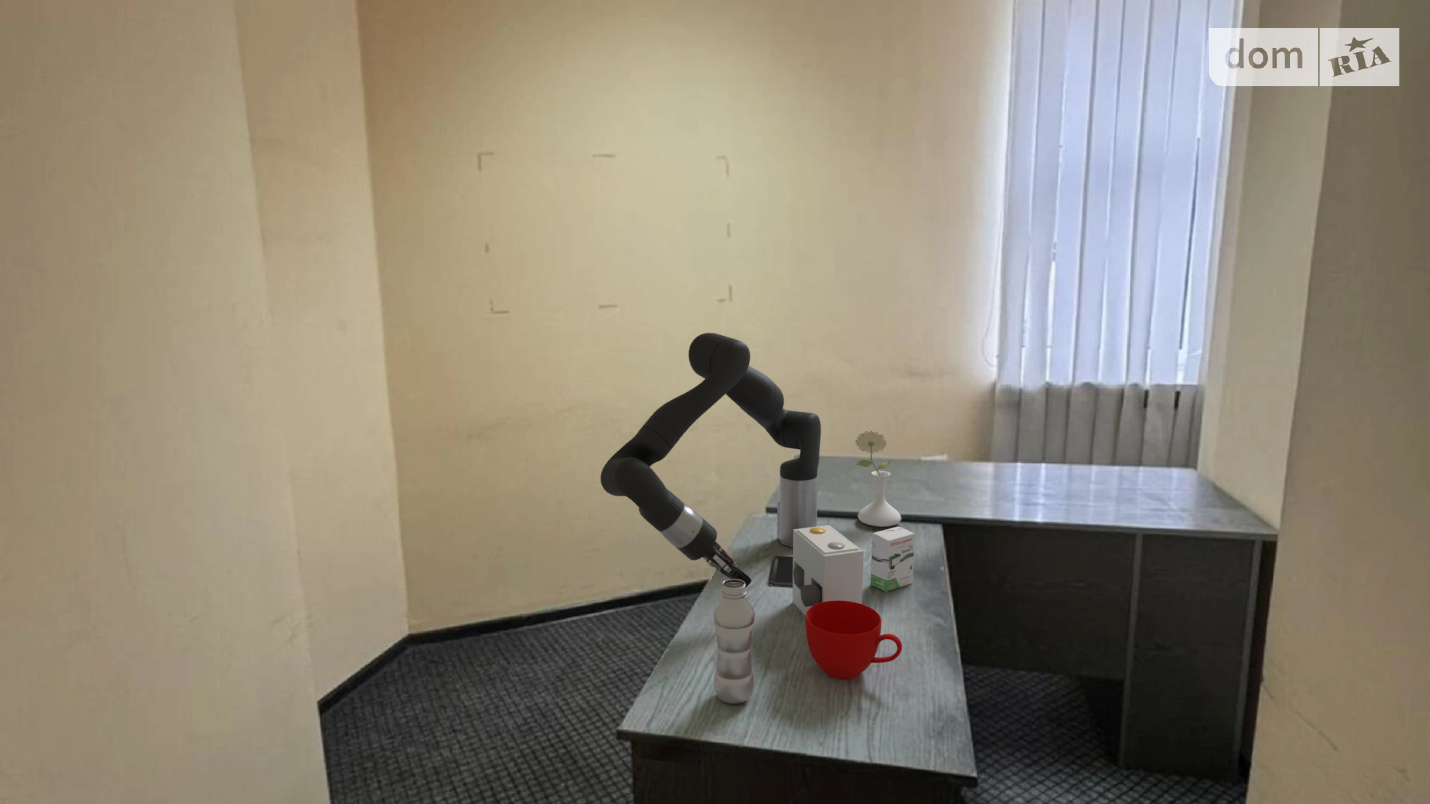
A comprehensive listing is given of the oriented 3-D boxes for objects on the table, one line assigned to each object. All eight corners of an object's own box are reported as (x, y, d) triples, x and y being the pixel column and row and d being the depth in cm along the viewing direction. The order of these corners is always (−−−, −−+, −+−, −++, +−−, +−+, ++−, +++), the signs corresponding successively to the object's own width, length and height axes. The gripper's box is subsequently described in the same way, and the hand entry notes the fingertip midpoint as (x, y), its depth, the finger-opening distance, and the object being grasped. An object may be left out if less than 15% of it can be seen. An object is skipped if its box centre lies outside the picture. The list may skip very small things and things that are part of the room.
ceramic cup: (886, 706, 124) (888, 648, 122) (791, 676, 133) (792, 622, 131) (912, 669, 135) (914, 616, 133) (822, 644, 143) (823, 594, 142)
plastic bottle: (712, 688, 130) (710, 576, 126) (752, 685, 130) (752, 574, 126) (715, 710, 123) (714, 593, 119) (757, 707, 124) (757, 591, 120)
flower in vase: (907, 520, 208) (910, 430, 204) (892, 533, 199) (895, 439, 194) (861, 512, 215) (863, 424, 210) (845, 524, 206) (847, 433, 201)
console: (823, 635, 147) (824, 553, 143) (792, 602, 161) (793, 527, 157) (861, 629, 149) (863, 548, 146) (827, 597, 163) (829, 522, 160)
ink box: (885, 592, 165) (887, 540, 162) (869, 584, 169) (870, 533, 167) (914, 583, 169) (916, 531, 167) (897, 575, 174) (899, 525, 171)
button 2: (808, 610, 146) (809, 590, 145) (800, 601, 150) (800, 582, 149) (828, 607, 147) (828, 587, 146) (819, 598, 151) (819, 579, 150)
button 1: (800, 590, 155) (801, 571, 154) (793, 582, 158) (793, 564, 158) (819, 587, 156) (819, 569, 155) (811, 579, 160) (811, 561, 159)
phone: (768, 582, 169) (774, 555, 183) (768, 586, 169) (774, 560, 184) (805, 584, 168) (808, 557, 182) (805, 588, 168) (808, 561, 182)
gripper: (710, 527, 141) (772, 581, 147) (690, 505, 153) (748, 556, 159) (682, 558, 140) (746, 611, 146) (665, 533, 153) (724, 584, 159)
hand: (747, 582), depth 153 cm, fingers closed
